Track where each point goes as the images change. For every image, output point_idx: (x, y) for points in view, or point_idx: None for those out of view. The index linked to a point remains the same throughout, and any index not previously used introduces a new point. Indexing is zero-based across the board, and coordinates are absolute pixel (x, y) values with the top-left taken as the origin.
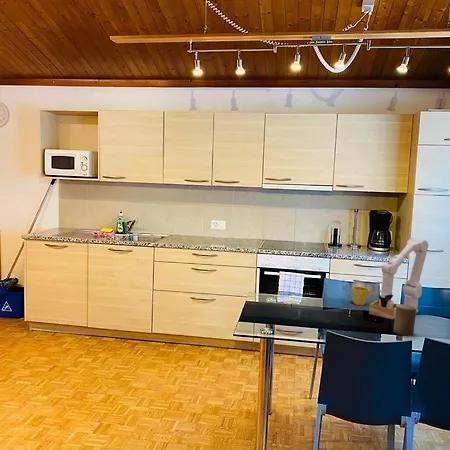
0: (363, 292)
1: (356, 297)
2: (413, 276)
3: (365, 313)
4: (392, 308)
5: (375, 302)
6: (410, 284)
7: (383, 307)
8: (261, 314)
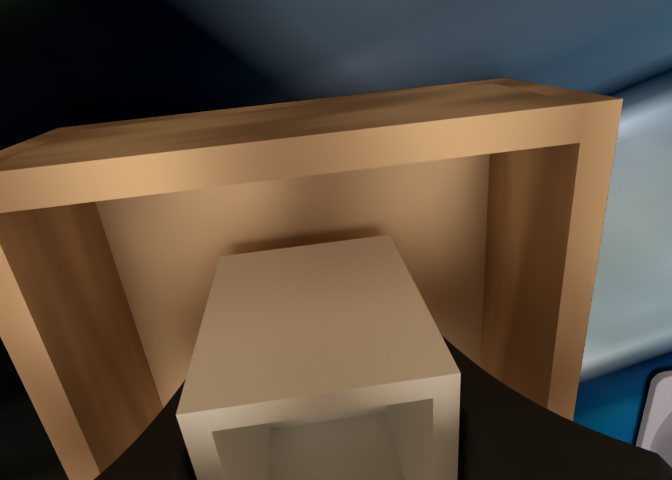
0: None
1: None
2: None
3: (9, 71)
4: (368, 459)
5: (366, 163)
6: None
7: (68, 470)
8: None
